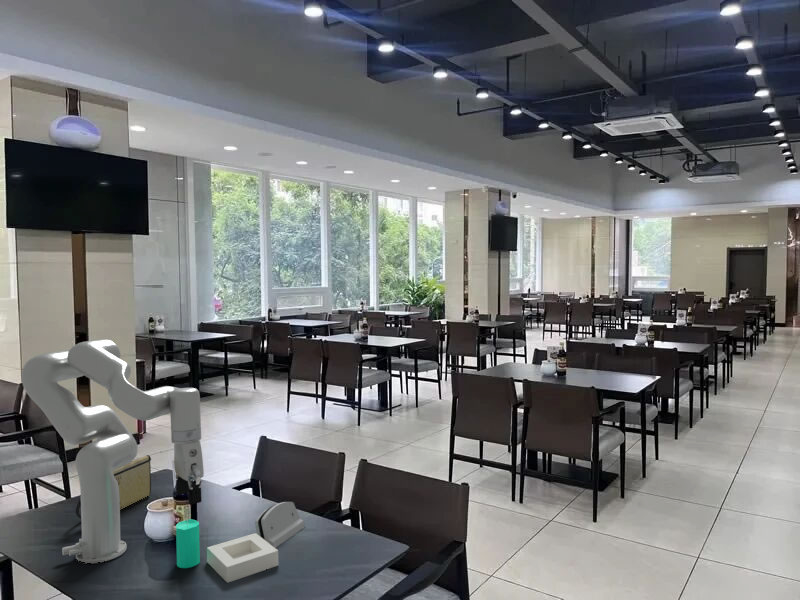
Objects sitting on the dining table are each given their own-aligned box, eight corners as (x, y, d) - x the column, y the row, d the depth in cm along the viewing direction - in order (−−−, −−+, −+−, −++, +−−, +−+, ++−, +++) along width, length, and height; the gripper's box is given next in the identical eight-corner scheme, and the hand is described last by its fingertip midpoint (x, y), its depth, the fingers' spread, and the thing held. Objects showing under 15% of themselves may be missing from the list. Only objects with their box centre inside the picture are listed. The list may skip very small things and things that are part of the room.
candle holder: (227, 582, 143) (227, 567, 143) (207, 562, 154) (206, 547, 154) (278, 565, 152) (278, 550, 152) (255, 546, 163) (255, 533, 163)
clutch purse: (138, 493, 207) (137, 452, 206) (155, 495, 205) (154, 454, 204) (69, 527, 178) (68, 479, 178) (87, 530, 176) (86, 481, 176)
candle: (180, 558, 157) (179, 514, 157) (202, 556, 158) (201, 513, 157) (173, 568, 151) (172, 523, 151) (196, 567, 152) (196, 522, 151)
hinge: (273, 549, 162) (263, 514, 163) (260, 552, 164) (250, 517, 165) (306, 526, 177) (296, 494, 178) (293, 528, 179) (284, 497, 180)
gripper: (212, 438, 149) (214, 503, 149) (189, 426, 162) (192, 486, 163) (182, 443, 144) (185, 511, 145) (162, 431, 158) (164, 493, 158)
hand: (188, 498), depth 154 cm, fingers open, 9 cm apart
